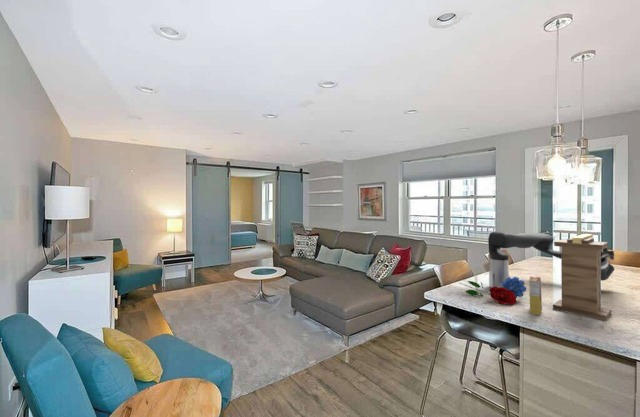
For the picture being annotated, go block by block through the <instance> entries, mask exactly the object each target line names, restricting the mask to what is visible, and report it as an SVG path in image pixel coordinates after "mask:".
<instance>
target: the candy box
mask: <svg viewBox="0 0 640 417" xmlns="http://www.w3.org/2000/svg"><path fill="white" fill-rule="evenodd" d="M541 279H542V278H541V277H540V276H530V277H529V280H528V287H529V313H530V314H532V315H537V316H538V315H539V316H541V315H542V310H543V306H542V303H543V302H542V284H541V283H542V280H541Z"/></svg>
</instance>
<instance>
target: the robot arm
mask: <svg viewBox="0 0 640 417" xmlns="http://www.w3.org/2000/svg"><path fill="white" fill-rule="evenodd" d="M487 239H488V242H487V243H488V253H489V258H490V263H489V264H490V265H489V266H490V267H489V271H488V274H489V276H488V283H489V284H488V286H489V287H490V288H492V287H497V288H500V287H503V286H502V285H501V283H502V282H503V281H506V278H507V277H510V274H509V272H510V268H509V263H510V262H509V255H508V254H507V253H505V252H503V251H502V249H509V248H518V249H529V248H534V249H535V250H538V251H540V252H542V253H545V254H548V255H550V256H552V257H556V258H558V259H561V250H554V249H551V246H552V244H554V237H553V236H552V235H550V234H548V233H543V232H536V233H527V232H526V233H525V232H518V233H515V234H512V233H509V232H502V231H501V232H500V231H491V232H490V233H489V235H488V238H487ZM614 252H615V251H614V250H608V247H607V248H605V249H603V250H601V282H602V281H607V280H608V279H609V278H610V277H611V275H612V274H613V273H614V271H615V267H614V266H613V265H612V264H611V263H609V260H608V259H610V260H613V261H614V259H615V253H614Z"/></svg>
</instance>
